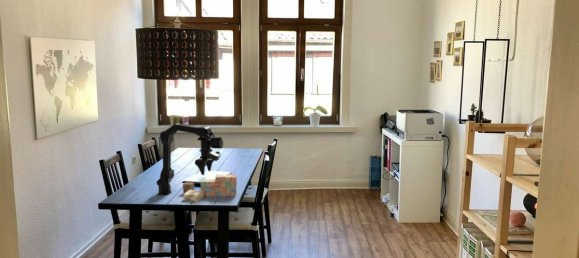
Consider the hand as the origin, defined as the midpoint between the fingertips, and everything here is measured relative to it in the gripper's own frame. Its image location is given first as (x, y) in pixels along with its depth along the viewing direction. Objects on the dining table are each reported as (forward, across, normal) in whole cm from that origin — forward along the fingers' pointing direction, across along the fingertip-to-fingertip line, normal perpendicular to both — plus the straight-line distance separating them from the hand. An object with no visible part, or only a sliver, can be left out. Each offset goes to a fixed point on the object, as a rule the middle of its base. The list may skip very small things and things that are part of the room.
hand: (206, 173), depth 272 cm
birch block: (+15, -5, +6) cm, 17 cm away
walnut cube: (+15, +5, +14) cm, 21 cm away
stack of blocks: (+15, +5, -6) cm, 17 cm away
